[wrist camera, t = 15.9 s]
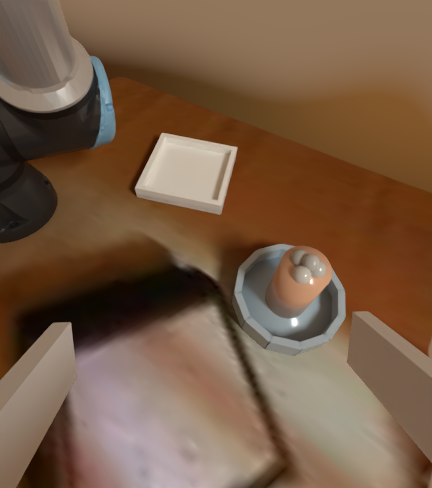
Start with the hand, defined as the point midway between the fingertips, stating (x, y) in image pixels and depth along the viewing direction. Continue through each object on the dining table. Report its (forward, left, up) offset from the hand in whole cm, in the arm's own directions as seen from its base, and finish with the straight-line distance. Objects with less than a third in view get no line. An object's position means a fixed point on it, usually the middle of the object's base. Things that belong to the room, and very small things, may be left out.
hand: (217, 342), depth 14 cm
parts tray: (-12, +38, -29) cm, 50 cm away
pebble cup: (+9, +16, -28) cm, 34 cm away
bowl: (+9, +16, -29) cm, 35 cm away
